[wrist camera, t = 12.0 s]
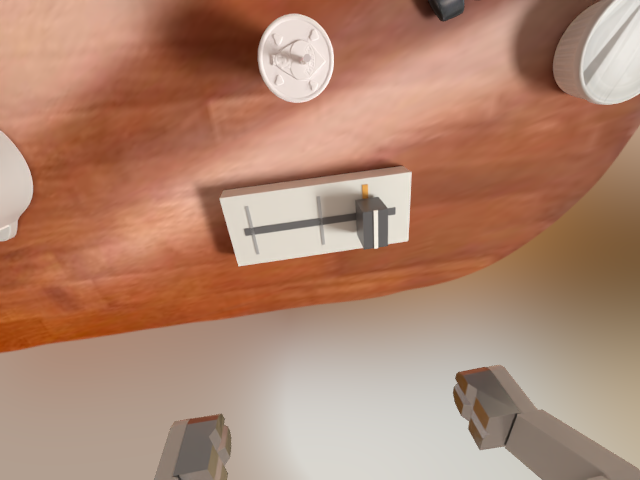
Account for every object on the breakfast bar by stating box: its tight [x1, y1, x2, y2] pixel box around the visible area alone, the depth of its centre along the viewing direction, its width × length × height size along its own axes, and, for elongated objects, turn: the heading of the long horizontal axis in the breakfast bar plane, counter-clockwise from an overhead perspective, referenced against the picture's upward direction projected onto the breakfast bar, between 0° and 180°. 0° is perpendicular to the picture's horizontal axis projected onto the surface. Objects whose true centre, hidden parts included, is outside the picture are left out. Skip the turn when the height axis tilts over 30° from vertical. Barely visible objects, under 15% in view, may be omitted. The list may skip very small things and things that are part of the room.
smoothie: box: [258, 14, 334, 103], centre depth 27 cm, size 6×6×14 cm
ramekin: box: [553, 0, 640, 105], centre depth 34 cm, size 11×11×5 cm
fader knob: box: [355, 197, 388, 249], centre depth 37 cm, size 3×5×4 cm, turn 6°
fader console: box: [219, 166, 412, 266], centre depth 40 cm, size 24×10×3 cm, turn 96°
